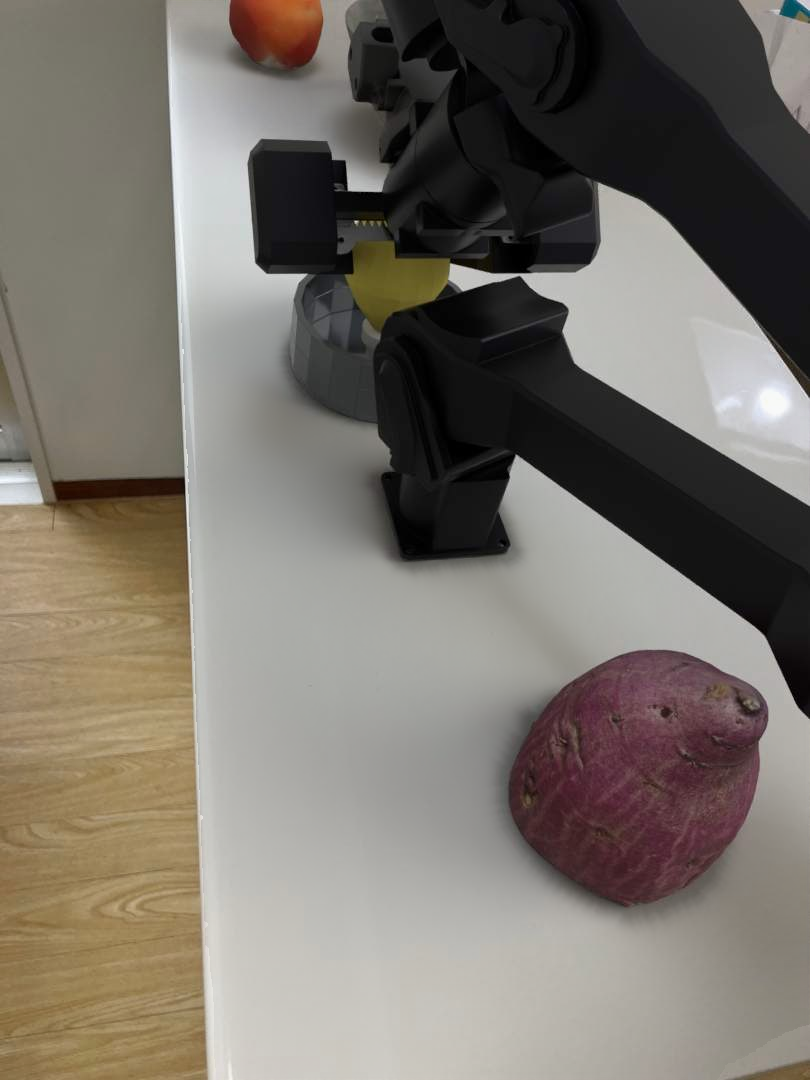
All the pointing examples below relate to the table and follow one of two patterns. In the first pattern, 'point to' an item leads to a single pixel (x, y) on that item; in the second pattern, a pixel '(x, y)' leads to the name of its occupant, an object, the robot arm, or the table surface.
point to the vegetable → (640, 773)
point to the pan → (334, 345)
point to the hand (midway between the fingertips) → (391, 252)
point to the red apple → (277, 30)
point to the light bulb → (390, 284)
